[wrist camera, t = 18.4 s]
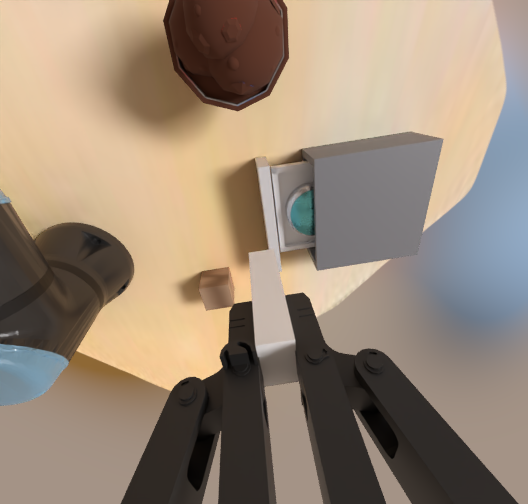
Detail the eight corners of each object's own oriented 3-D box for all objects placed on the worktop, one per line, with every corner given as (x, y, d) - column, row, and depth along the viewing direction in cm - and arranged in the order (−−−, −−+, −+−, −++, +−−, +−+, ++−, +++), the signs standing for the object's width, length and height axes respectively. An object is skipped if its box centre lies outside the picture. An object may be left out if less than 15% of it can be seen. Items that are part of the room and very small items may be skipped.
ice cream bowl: (171, 74, 31) (126, 62, 19) (209, -37, 27) (184, -156, 14) (247, 123, 35) (253, 140, 22) (293, 32, 30) (333, -13, 17)
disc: (286, 232, 42) (289, 240, 40) (284, 184, 38) (287, 190, 36) (333, 226, 43) (339, 234, 40) (337, 178, 38) (343, 184, 36)
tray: (268, 253, 46) (272, 272, 41) (254, 157, 37) (257, 167, 32) (356, 239, 46) (371, 257, 41) (363, 140, 37) (383, 148, 32)
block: (208, 291, 50) (206, 310, 45) (202, 271, 47) (198, 289, 43) (234, 287, 50) (234, 306, 45) (229, 267, 47) (228, 284, 43)
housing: (306, 247, 46) (317, 270, 40) (302, 148, 37) (314, 159, 31) (394, 233, 46) (417, 254, 40) (410, 131, 37) (443, 138, 31)
